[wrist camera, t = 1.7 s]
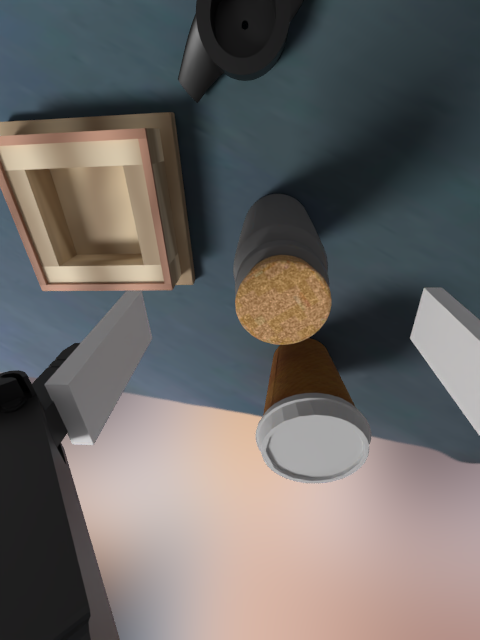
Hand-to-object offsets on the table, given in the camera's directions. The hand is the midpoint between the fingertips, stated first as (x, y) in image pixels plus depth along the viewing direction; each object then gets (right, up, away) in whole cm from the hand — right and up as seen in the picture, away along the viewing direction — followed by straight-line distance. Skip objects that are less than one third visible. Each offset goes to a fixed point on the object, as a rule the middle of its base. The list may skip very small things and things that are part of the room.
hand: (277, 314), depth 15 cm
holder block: (-14, +10, +13) cm, 21 cm away
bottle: (+1, +8, +13) cm, 16 cm away
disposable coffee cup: (+5, -5, +21) cm, 22 cm away
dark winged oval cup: (-1, +20, +7) cm, 21 cm away
